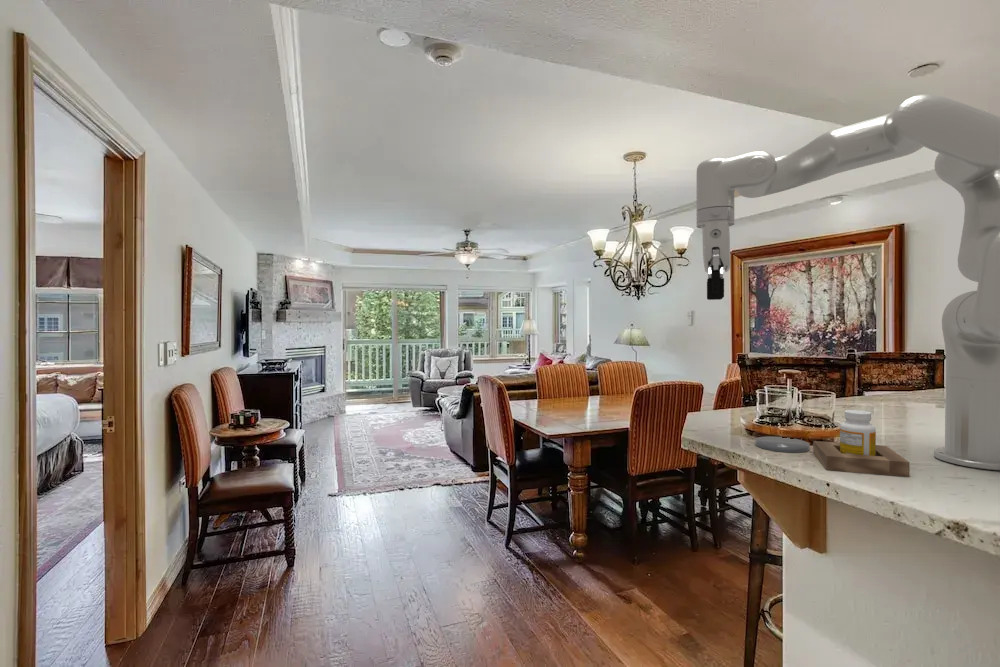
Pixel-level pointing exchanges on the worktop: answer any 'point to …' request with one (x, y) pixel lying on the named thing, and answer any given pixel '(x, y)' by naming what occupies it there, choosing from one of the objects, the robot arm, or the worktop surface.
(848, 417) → the supplement bottle
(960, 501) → the worktop surface
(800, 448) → the coaster
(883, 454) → the frame
